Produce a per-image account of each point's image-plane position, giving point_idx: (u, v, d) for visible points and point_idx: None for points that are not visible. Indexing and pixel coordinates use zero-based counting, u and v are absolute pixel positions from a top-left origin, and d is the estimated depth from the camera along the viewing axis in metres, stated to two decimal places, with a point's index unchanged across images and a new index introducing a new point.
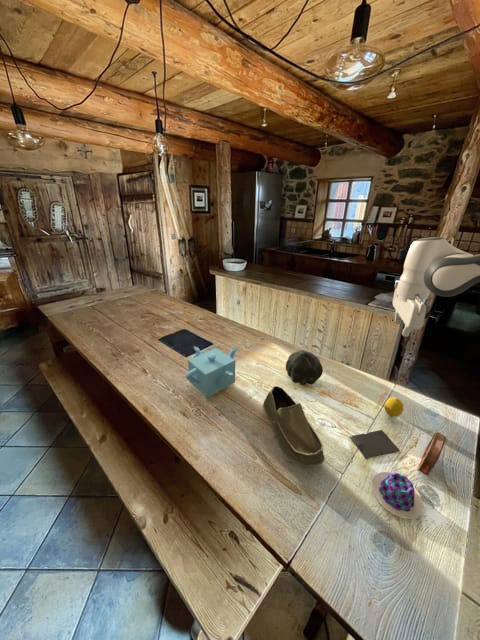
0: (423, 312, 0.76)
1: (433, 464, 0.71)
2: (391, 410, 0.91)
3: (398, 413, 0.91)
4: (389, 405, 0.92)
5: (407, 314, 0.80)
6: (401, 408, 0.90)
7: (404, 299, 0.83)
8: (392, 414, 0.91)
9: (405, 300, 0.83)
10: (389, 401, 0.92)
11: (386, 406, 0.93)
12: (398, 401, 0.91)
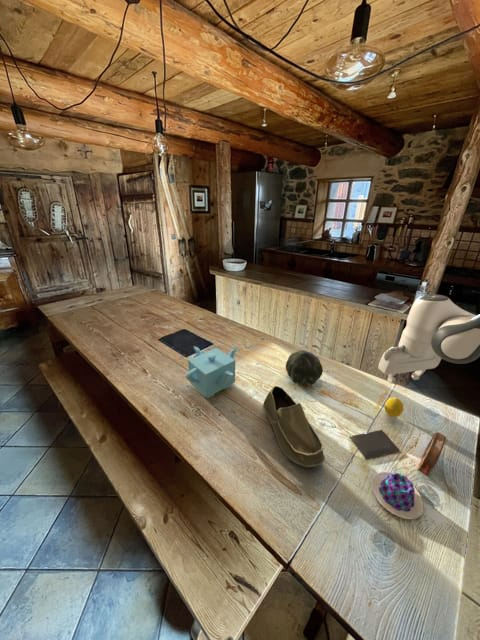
0: (389, 359, 0.80)
1: (433, 464, 0.71)
2: (391, 410, 0.91)
3: (398, 413, 0.91)
4: (389, 405, 0.92)
5: None
6: (401, 408, 0.90)
7: None
8: (392, 414, 0.91)
9: None
10: (389, 401, 0.92)
11: (386, 406, 0.93)
12: (398, 401, 0.91)
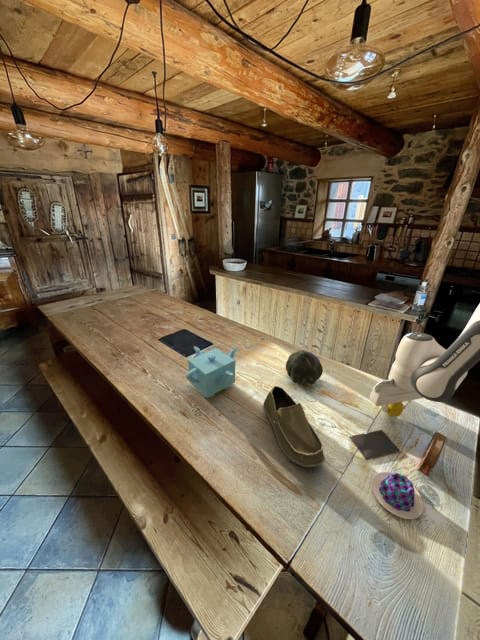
0: (379, 392, 0.86)
1: (433, 464, 0.71)
2: (390, 410, 0.91)
3: (398, 413, 0.91)
4: (389, 405, 0.92)
5: None
6: (401, 408, 0.90)
7: None
8: (392, 414, 0.91)
9: None
10: None
11: None
12: None
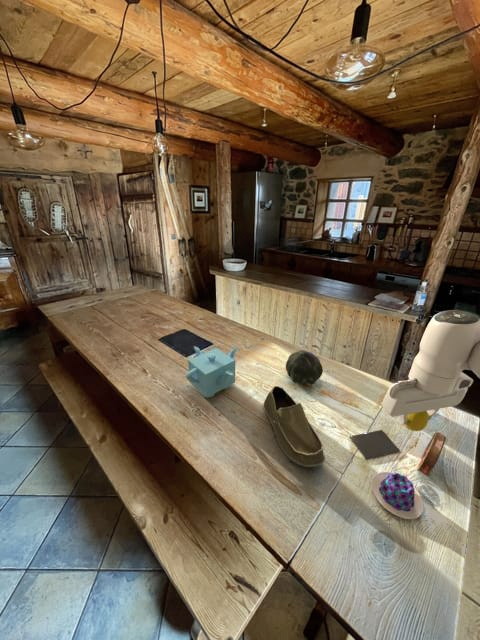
0: (396, 397, 0.61)
1: (433, 464, 0.71)
2: (411, 421, 0.66)
3: (421, 426, 0.65)
4: (408, 415, 0.66)
5: None
6: (426, 419, 0.65)
7: None
8: (413, 427, 0.66)
9: None
10: None
11: None
12: None
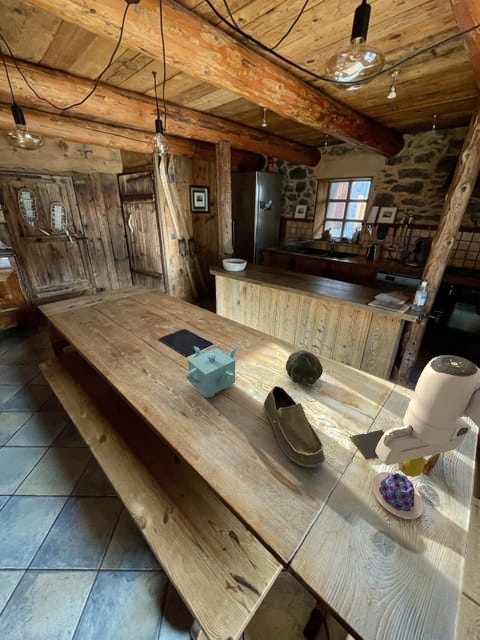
0: (390, 446, 0.57)
1: (433, 464, 0.71)
2: (406, 467, 0.62)
3: (417, 473, 0.62)
4: None
5: None
6: (422, 466, 0.61)
7: None
8: (408, 473, 0.63)
9: None
10: None
11: None
12: None
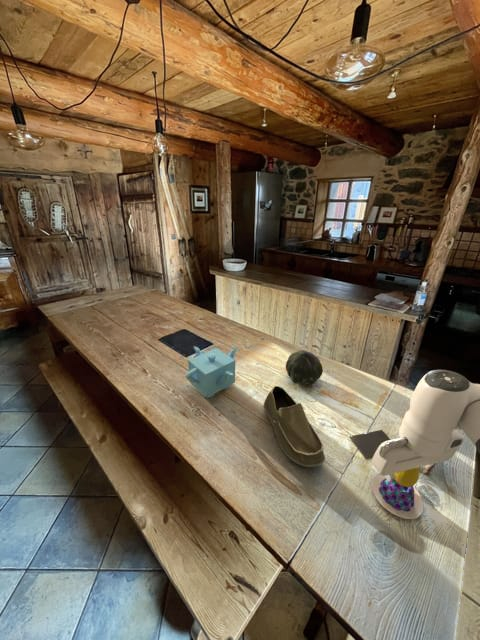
0: (386, 457, 0.59)
1: None
2: (401, 477, 0.64)
3: (412, 483, 0.63)
4: None
5: None
6: (416, 476, 0.63)
7: None
8: (403, 483, 0.64)
9: None
10: None
11: None
12: None
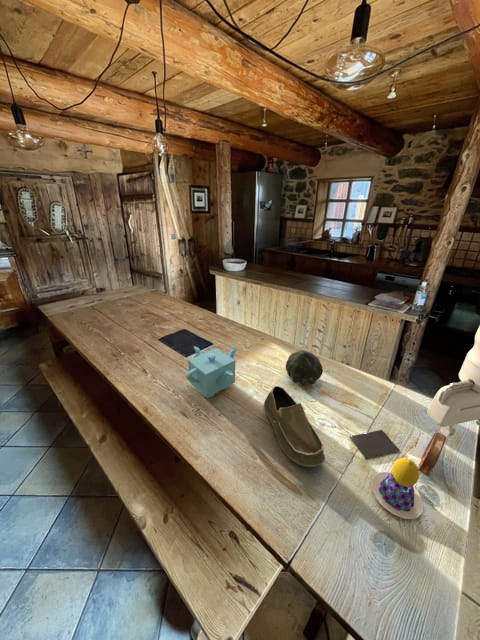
0: (448, 403, 0.49)
1: (433, 464, 0.71)
2: (401, 477, 0.64)
3: (412, 483, 0.63)
4: (399, 470, 0.64)
5: None
6: (416, 476, 0.63)
7: None
8: (403, 483, 0.64)
9: None
10: (399, 464, 0.65)
11: (394, 471, 0.66)
12: (412, 465, 0.64)
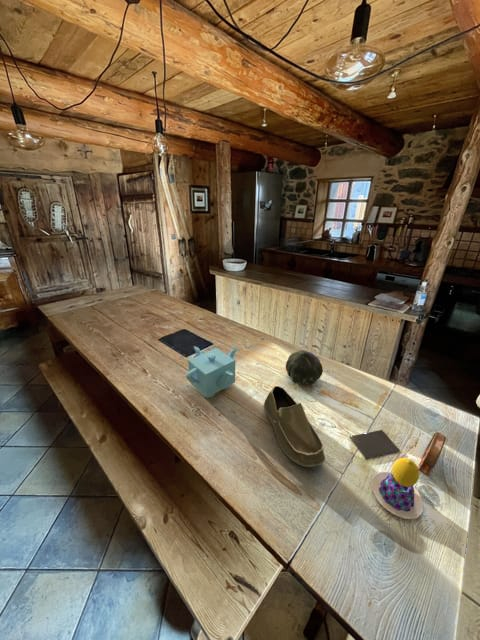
0: None
1: (433, 464, 0.71)
2: (401, 477, 0.64)
3: (412, 483, 0.63)
4: (399, 470, 0.64)
5: None
6: (416, 476, 0.63)
7: None
8: (403, 483, 0.64)
9: None
10: (399, 464, 0.65)
11: (394, 471, 0.66)
12: (412, 465, 0.64)
